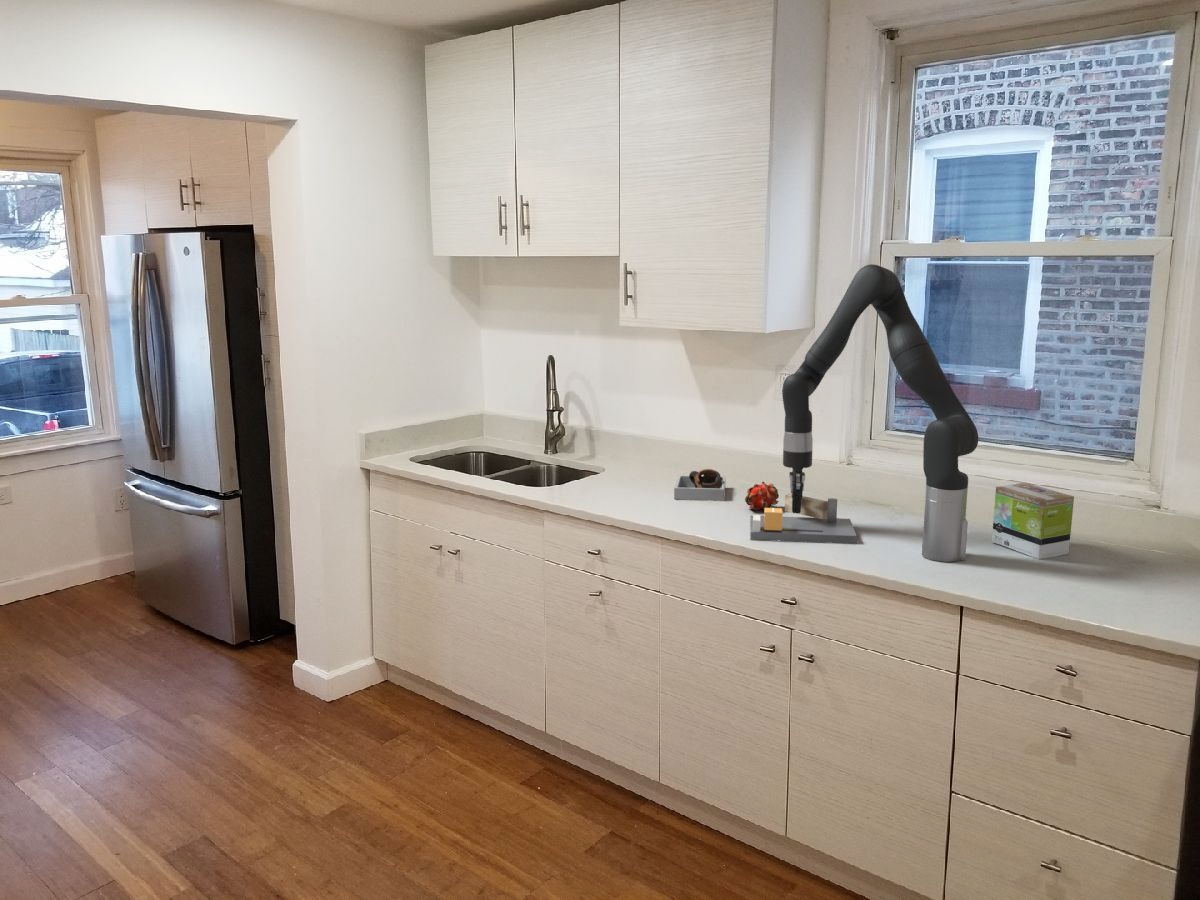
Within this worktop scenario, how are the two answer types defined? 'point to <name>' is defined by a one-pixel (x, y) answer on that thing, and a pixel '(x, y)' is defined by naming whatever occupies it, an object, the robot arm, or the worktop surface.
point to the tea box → (1032, 520)
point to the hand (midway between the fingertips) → (796, 512)
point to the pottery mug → (706, 479)
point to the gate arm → (809, 507)
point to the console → (807, 528)
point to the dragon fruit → (761, 496)
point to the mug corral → (697, 490)
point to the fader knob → (773, 518)
